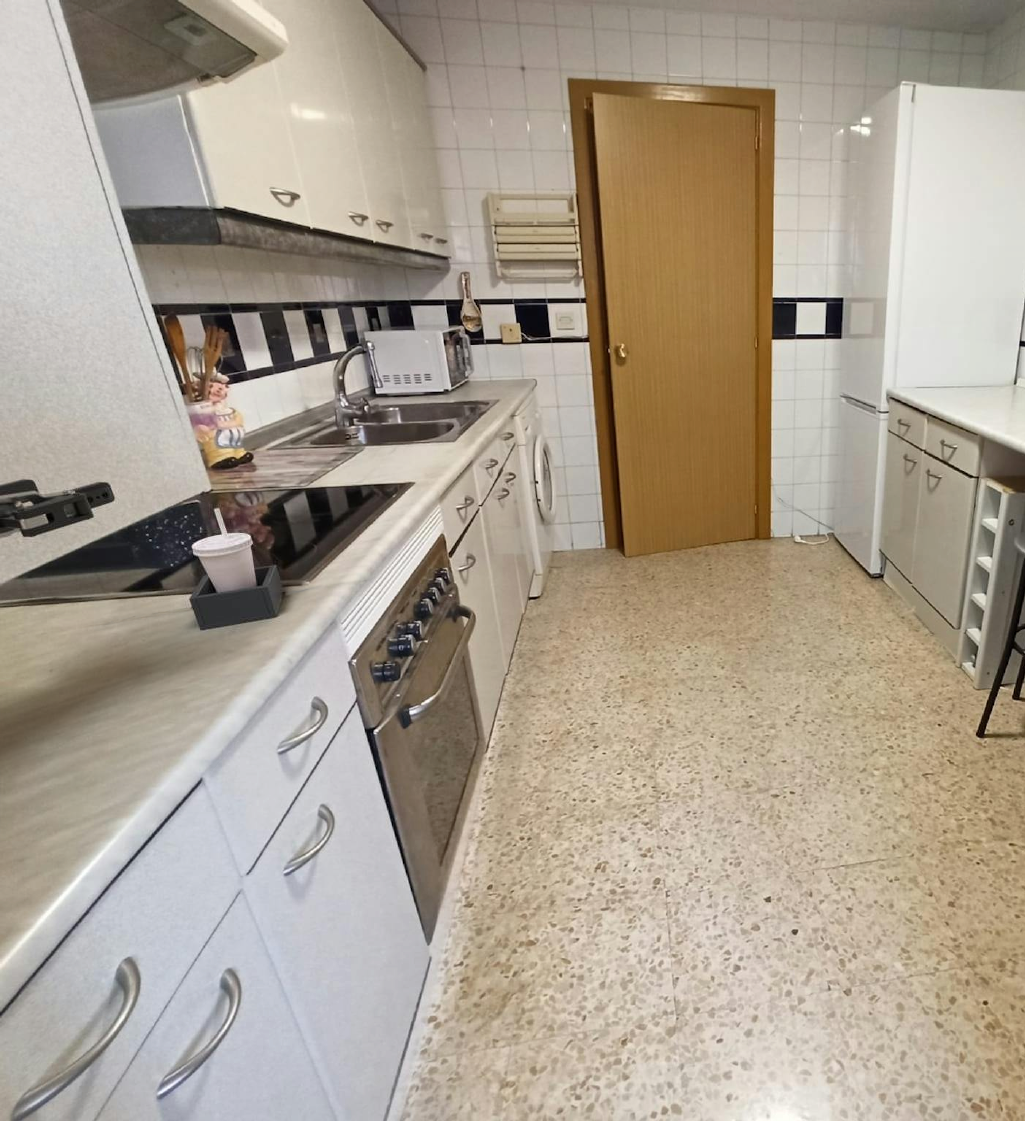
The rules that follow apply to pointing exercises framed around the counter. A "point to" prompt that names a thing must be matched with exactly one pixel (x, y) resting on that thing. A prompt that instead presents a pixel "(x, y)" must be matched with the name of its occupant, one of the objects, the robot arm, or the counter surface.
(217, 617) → the open box
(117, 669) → the counter surface
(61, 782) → the counter surface
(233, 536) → the smoothie
